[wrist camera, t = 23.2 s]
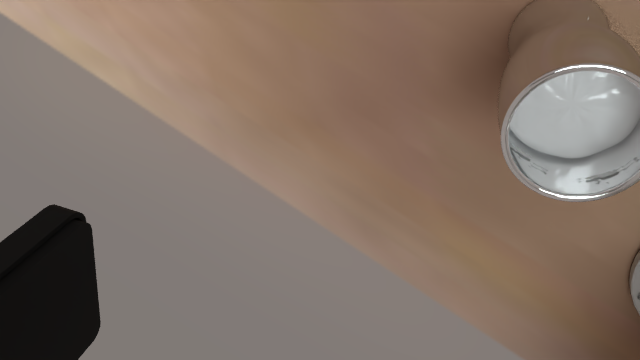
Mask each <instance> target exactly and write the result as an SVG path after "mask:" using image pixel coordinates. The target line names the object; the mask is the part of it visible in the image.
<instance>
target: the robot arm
mask: <svg viewBox="0 0 640 360" xmlns="http://www.w3.org/2000/svg"><path fill="white" fill-rule="evenodd" d="M629 285H630V293H631V296H632V300H633V303H634V306H635V308H636V310H637V312H638V313H639V315H640V251H639V252H638V254H637V255H636V257H635V259H634V262H633V264H632V267H631V270H630V277H629ZM99 328H100V312H99V302H98V292H97V280H96V269H95V258H94V247H93V236H92V228H91V225H90V224H89V223H86V218H85V216H84V215H83V214H82V213H80V212H77V211H73V210H70V209H67V208H64V207H61V206H57V205H49V206H48V207H46V208H44V209H43V210H42V211H40V212H39V213H38V214H37V215H35V216H34V217H33V218H32V219H30V220H29V221H28V222H26V223H25V224H24V225H22V226H21V227H20V228H18V229H17V230H16V231H14V232H13V233H12V234H11V235H9V236H8V237H7V238H5V239H4V240H3V241H2V242H0V360H78V359H79V357H80V356H81V355H82V354H83V353H84V352H85V350H86V349H87V348H88V347H89V346H90V345H91V343H92V342H93V341H94V339H95V338H96V336H97V334H98V331H99Z"/></svg>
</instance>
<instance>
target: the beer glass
mask: <svg viewBox="0 0 640 360" xmlns="http://www.w3.org/2000/svg"><path fill="white" fill-rule="evenodd" d="M508 52H509V56H510V59H509V61H508V63H507V65H506V68H505V70H504V72H503V75H502V78H501V82H500V87H499V94H498V122H499V129H500V135H501V148H502V152H503V155H504V158H505V161H506V163H507V165H508V167H509V168H510V170H511V171H512V173H513V174H514V175H515V176H516V177H517V178H518V179H519V180H520V181H521V182H522V183H523V184H524V185H525V186H527V187H528V188H530V189H531V190H533V191H535V192H537V193H539V194H541V195H543V196H546V197H549V198H552V199H556V200H561V201H569V202H586V201H594V200H599V199H603V198H607V197H610V196H613V195H615V194H618V193H620V192H622V191H624V190H626V189H628V188H629V187H631V186H632V185H634V184H635V183H637V182H638V181H639V180H640V55H639V54H638V53H637V51H636V50H635V49H634V48H633V46H632V45H631V44H630V43H629V42H628V41H626V40H625V39H624V38H623V37H621V36H620V35H618V34H617V33H616V32H614V31H612V30H611V29H610V27H609V23H608V20H607V17H606V15H605V13H604V12H603V10H602V9H601V8H600V7H599V6H598V5H597V4H596V3H595V2H594V1H592V0H535V1H533V2H532V3H530V4H529V5H528V6H526V7H525V8H524V9H523V10H522V11H521V12H520V14H519V15H518V16H517V18H516V19H515V21H514V23H513V24H512V27H511V29H510V33H509V37H508Z"/></svg>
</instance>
